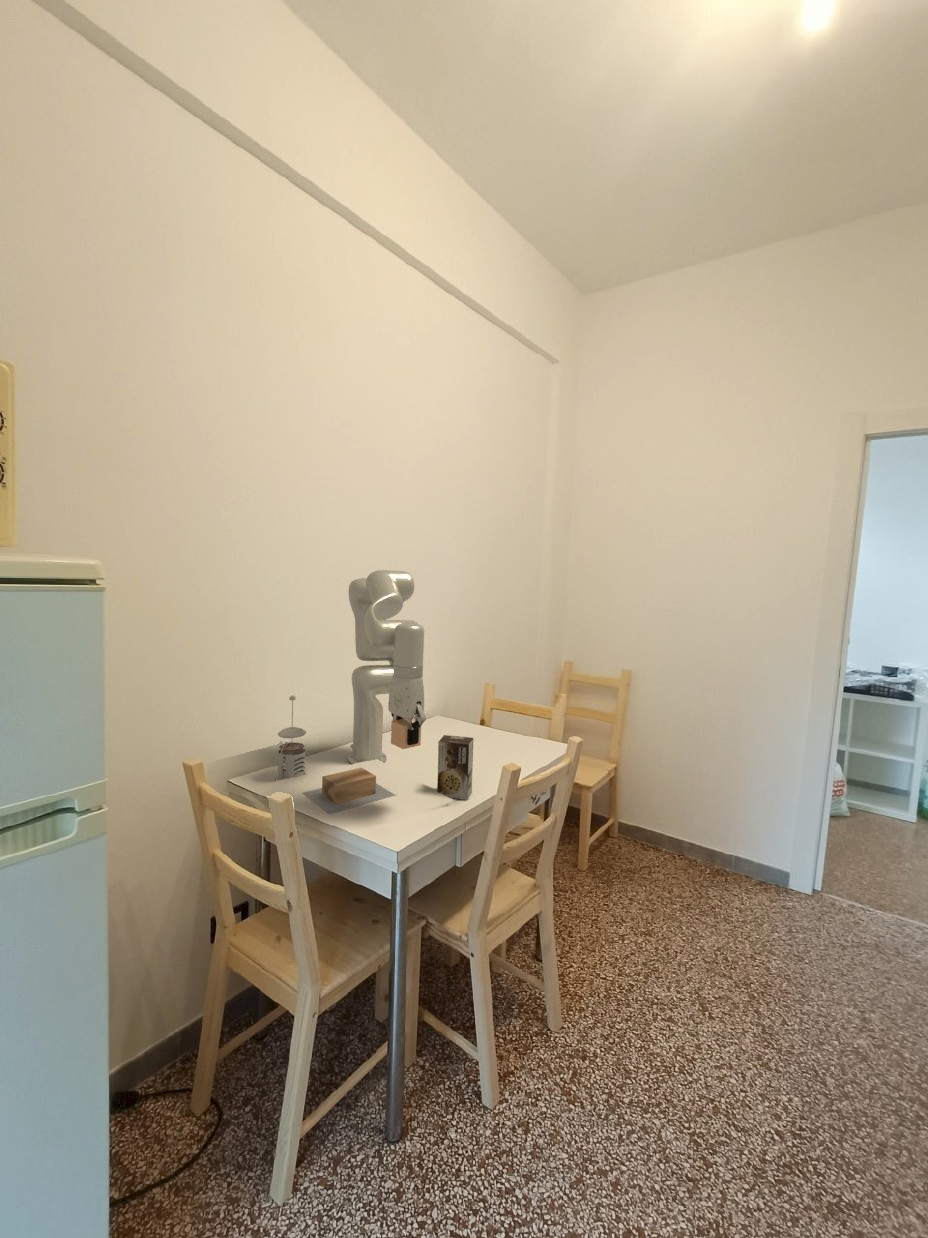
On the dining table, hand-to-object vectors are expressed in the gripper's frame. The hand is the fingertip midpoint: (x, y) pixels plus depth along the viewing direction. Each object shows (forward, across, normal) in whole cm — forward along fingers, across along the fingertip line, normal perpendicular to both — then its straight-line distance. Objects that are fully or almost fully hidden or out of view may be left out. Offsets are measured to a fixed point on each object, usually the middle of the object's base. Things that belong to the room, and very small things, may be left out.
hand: (405, 740), depth 141 cm
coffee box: (+20, -1, +18) cm, 27 cm away
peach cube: (+1, 0, 0) cm, 1 cm away
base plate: (+19, -15, -8) cm, 26 cm away
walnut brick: (+18, -15, -8) cm, 25 cm away
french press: (+20, -38, -14) cm, 45 cm away
